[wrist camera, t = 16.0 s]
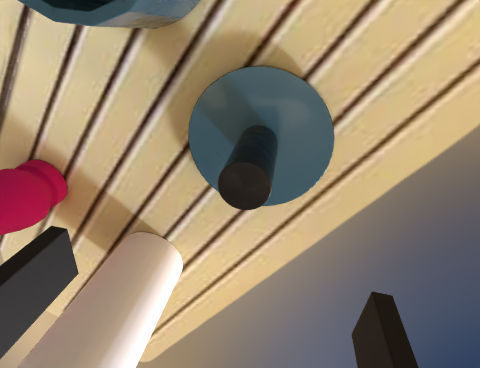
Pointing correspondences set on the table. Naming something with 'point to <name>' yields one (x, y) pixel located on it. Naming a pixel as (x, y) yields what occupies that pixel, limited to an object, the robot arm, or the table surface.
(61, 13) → the pot
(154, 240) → the cylinder container
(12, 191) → the pepper mill
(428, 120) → the table surface
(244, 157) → the lid
